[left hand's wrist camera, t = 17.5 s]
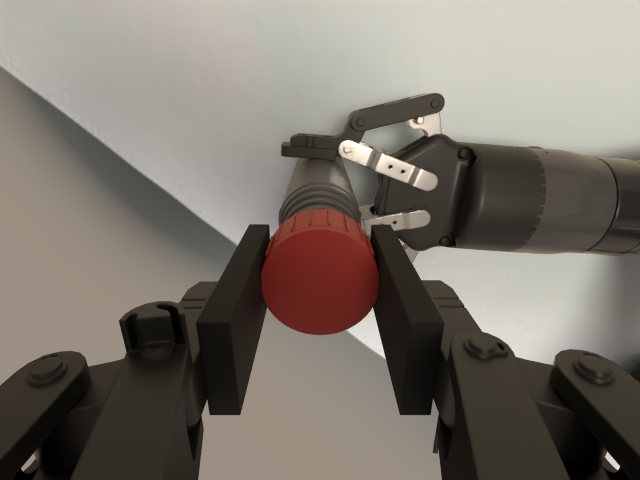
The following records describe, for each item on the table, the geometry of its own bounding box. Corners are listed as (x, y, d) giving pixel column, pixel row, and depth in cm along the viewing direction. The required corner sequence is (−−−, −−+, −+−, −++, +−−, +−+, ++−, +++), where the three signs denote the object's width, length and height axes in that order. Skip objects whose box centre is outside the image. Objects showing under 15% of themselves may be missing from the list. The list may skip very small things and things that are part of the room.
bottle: (288, 178, 32) (242, 296, 13) (310, 136, 30) (295, 199, 12) (329, 201, 32) (340, 342, 14) (352, 160, 31) (401, 256, 12)
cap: (374, 206, 14) (384, 227, 11) (369, 301, 15) (377, 336, 13) (265, 207, 14) (254, 228, 11) (270, 302, 15) (263, 336, 13)
